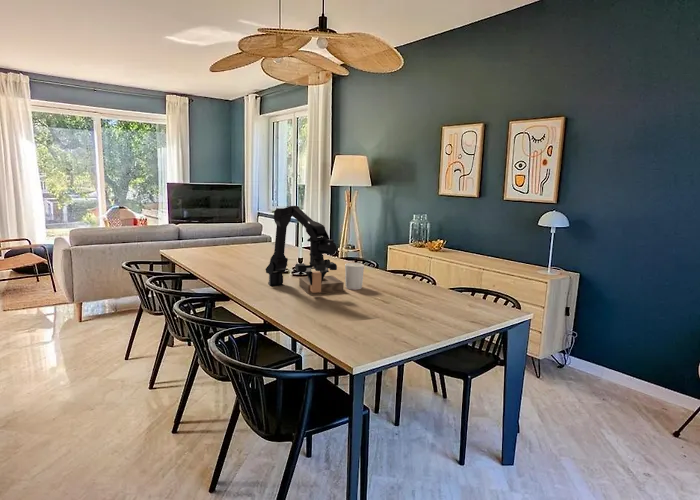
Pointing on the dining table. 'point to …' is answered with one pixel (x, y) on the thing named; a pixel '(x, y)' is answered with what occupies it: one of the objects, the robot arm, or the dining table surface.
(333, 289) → the socket block
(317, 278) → the peg
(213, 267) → the dining table surface
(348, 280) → the candle holder
